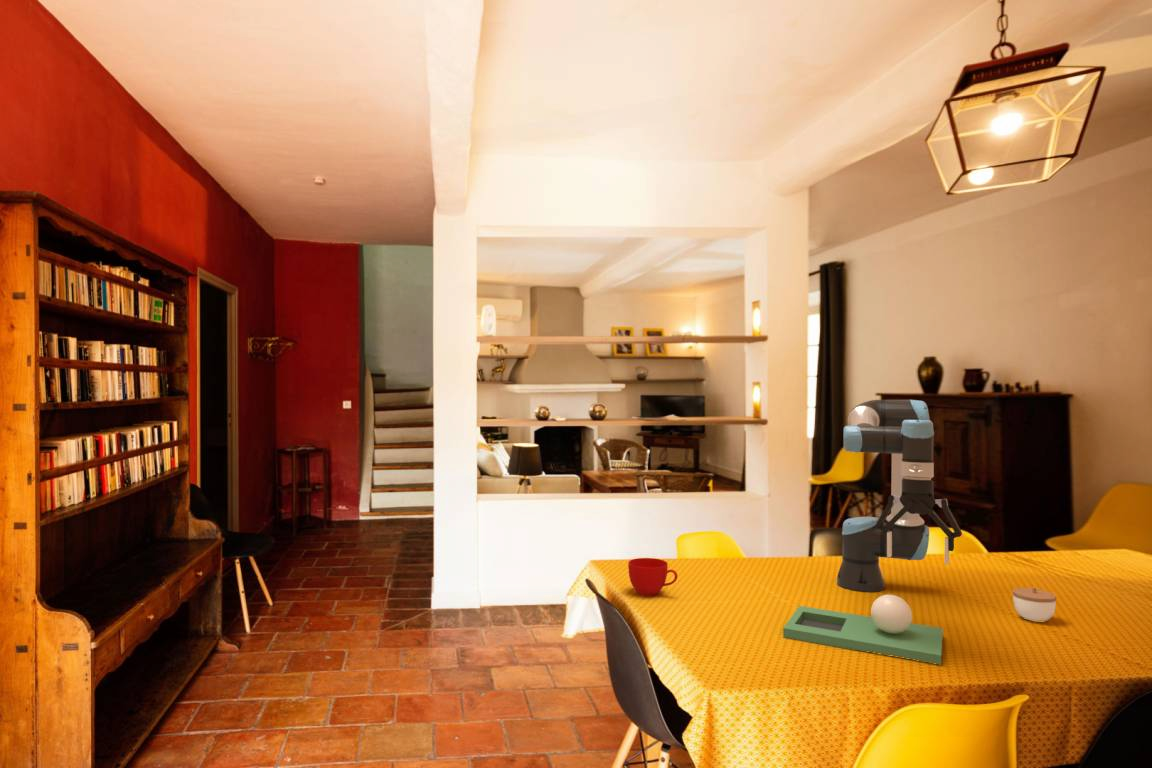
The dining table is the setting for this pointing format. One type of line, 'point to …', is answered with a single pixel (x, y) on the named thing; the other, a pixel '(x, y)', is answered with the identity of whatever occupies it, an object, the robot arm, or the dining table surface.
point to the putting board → (864, 634)
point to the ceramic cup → (649, 575)
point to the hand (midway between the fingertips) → (917, 560)
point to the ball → (891, 614)
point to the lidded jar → (1034, 603)
